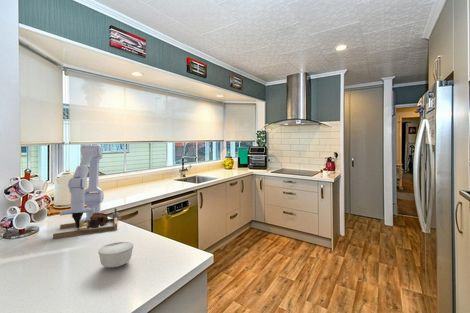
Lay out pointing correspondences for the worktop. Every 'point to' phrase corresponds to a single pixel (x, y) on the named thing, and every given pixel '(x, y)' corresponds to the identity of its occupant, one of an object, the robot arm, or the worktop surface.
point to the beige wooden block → (83, 225)
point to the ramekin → (115, 254)
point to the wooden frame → (87, 231)
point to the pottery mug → (98, 220)
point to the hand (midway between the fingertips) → (77, 227)
